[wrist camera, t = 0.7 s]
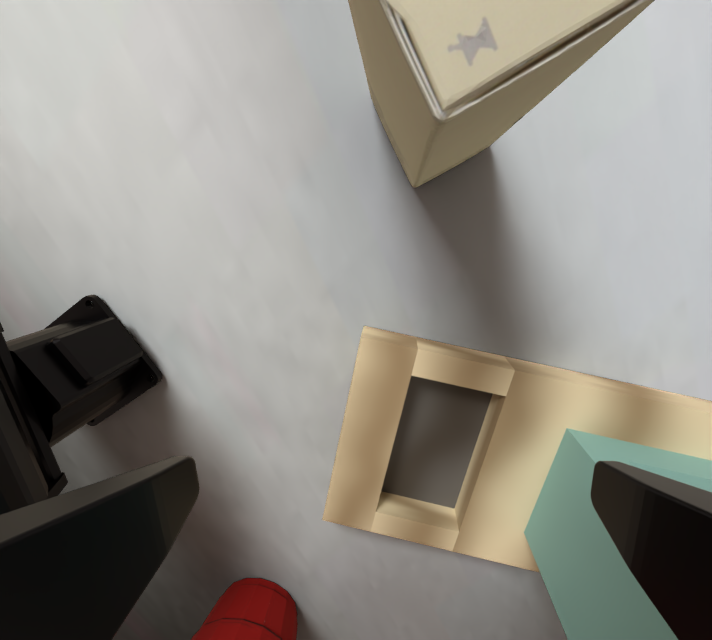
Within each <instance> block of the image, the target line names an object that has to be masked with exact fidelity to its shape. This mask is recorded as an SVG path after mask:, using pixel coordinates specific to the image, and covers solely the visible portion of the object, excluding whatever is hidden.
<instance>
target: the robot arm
mask: <svg viewBox="0 0 712 640" xmlns="http://www.w3.org/2000/svg"><path fill="white" fill-rule="evenodd" d="M91 301H92V302H93V304H94V306H92V304H91ZM3 331H4V330H3V327H2V325H1V323H0V640H112V639H113V637H114V636H115V634H116V633H117V631H118V629H119V628H120V626H121V625H122V623H123V622H124V620H125V619H126V617H127V616H128V614H129V613H130V611H131V610H132V608H133V607H134V605H135V604H136V602H137V600H138V599H139V597H140V596H141V594H142V593H143V591H144V590H145V588H146V587H147V585H148V584H149V582H150V581H151V579H152V578H153V576H154V575H155V573H156V572H157V570H158V568H159V567H160V565H161V564H162V562H163V561H164V559H165V557H166V556H167V554H168V552H169V551H170V549H171V547H172V545H173V543H174V542H175V540H176V538H177V536H178V534H179V532H180V530H181V528H182V526H183V524H184V523H185V521H186V519H187V517H188V515H189V513H190V511H191V509H192V507H193V505H194V503H195V502H196V500H197V497H198V494H199V482H198V477H197V471H196V466H195V461H194V459H193V458H192V457H190V456H175V457H172V458H169V459H166V460H163V461H160V462H157V463H154V464H151V465H148V466H145V467H142V468H139V469H136V470H133V471H130V472H127V473H124V474H121V475H118V476H115V477H112V478H109V479H106V480H103V481H100V482H97V483H94V484H91V485H88V486H85V487H82V488H79V489H76V490H73V491H70V492H67V493H64V494H61V495H59V493H60V492H61V491H62V490H63V488H64V487H65V486H66V485H67V483H68V481H67V478H66V476H65V473H63V472H62V473H61V470H60V468H59V466H58V463H57V461H56V459H55V456H54V454H53V452H52V449H51V447H52V446H53V445H55V444H56V443H58V442H59V441H61V440H62V439H64V438H65V437H67V436H68V435H70V434H71V433H73V432H74V431H76V430H77V429H79V428H80V427H82V426H83V425H85V424H86V423H87V424H88V425H90V426H95V425H97V424H98V423H100V422H101V421H103V420H104V419H106V418H107V417H109V416H110V415H111V414H113V413H114V412H116V411H117V410H119V409H120V408H122V407H123V406H125V405H126V404H128V403H129V402H131V401H132V400H134V399H135V398H137V397H138V396H140V395H141V394H143V393H144V392H145V391H147V390H148V389H150V388H151V387H153V386H154V385H156V384H157V383H159V382H160V381H161V379H162V374H161V373H160V371H159V370H158V369H157V367H156V366H155V365H154V364H153V362H152V361H151V360H150V359H149V358H148V356H147V355H146V354H145V353H144V351H143V350H142V349H141V348H140V346H139V345H138V344H137V343H136V342H135V340H134V339H133V338H132V337H131V335H130V334H129V333H128V332H127V331H126V329H125V328H124V327H123V326H122V324H121V323H120V322H119V321H118V319H117V318H116V317H115V316H114V315H113V313H112V312H111V311H110V310H109V308H108V307H107V306H106V305H105V303H104V302H103V301H102V300H101V299H100V298H99V297H98V296H96V295H89V296H86V297H84V298H82V299H81V300H80V301H79V302H77V303H76V304H75V305H74V306H72V307H71V308H70V309H69V310H67V311H66V312H65V313H64V314H62V315H61V316H60V317H59V318H57V319H56V320H55V321H54V322H52V323H51V324H50V325H49V326H47V327H46V328H45V329H44V330H41V331H38V332H35V333H32V334H28V335H25V336H22V337H19V338H16V339H13V340H10V341H7V342H6V341H5V339H4V337H3V334H2V332H3ZM150 375H152V376H153V377H154V379H153V378H151V376H150ZM591 501H592V504H593V507H594V509H595V511H596V512H597V514H598V516H599V518H600V519H601V521H602V523H603V525H604V526H605V528H606V530H607V532H608V534H609V535H610V537H611V539H612V541H613V542H614V544H615V546H616V548H617V549H618V551H619V553H620V555H621V556H622V558H623V560H624V561H625V563H626V565H627V566H628V568H629V570H630V571H631V573H632V574H633V576H634V577H635V579H636V580H637V582H638V583H639V585H640V586H641V587H642V589H643V590H644V592H645V593H646V595H647V596H648V597H649V599H650V600H651V602H652V603H653V605H654V606H655V607H656V609H657V610H658V612H659V613H660V614H661V616H662V617H663V619H664V620H665V622H666V623H667V624H668V626H669V627H670V629H671V630H672V632H673V633H674V634H675V636H676V637H677V639H678V640H712V492H709V491H706V490H703V489H700V488H697V487H694V486H691V485H688V484H685V483H682V482H679V481H676V480H673V479H670V478H667V477H664V476H661V475H658V474H655V473H652V472H649V471H646V470H643V469H640V468H637V467H634V466H631V465H628V464H625V463H622V462H618V461H598V462H597V463H596V464H595V466H594V472H593V479H592V486H591Z"/></svg>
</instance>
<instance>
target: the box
mask: <svg viewBox="0 0 712 640" xmlns="http://www.w3.org/2000/svg"><path fill="white" fill-rule="evenodd" d="M653 1H654V0H348V2H349V6H350V10H351V15H352V19H353V23H354V27H355V31H356V36H357V40H358V44H359V48H360V52H361V56H362V60H363V64H364V69H365V73H366V77H367V81H368V86H369V90H370V94H371V99H372V101H373V103H374V106H375V108H376V111H377V113H378V115H379V118H380V120H381V122H382V125H383V127H384V129H385V131H386V133H387V136H388V138H389V140H390V142H391V144H392V146H393V148H394V150H395V153H396V155H397V157H398V159H399V161H400V163H401V165H402V167H403V169H404V171H405V173H406V175H407V178H408V179H409V181H410V183H411V185H412V187H414V188H417V187H419V186H420V185H422V184H424V183H426V182H428V181H430V180H432V179H433V178H435V177H437V176H439V175H441V174H443V173H444V172H446V171H448V170H450V169H452V168H453V167H455V166H457V165H459V164H460V163H462V162H464V161H466V160H467V159H469V158H471V157H472V156H474V155H476V154H478V153H479V152H481V151H482V150H484V149H486V148H487V147H489V146H490V145H492V144H493V143H494V142H495V141H496V140H497V139H498V138H499V137H500V136H502V135H503V134H504V133H505V132H506V131H507V130H508V129H510V128H511V127H512V126H513V125H514V124H515V123H516V122H517V121H518V120H520V119H521V118H522V117H523V116H524V115H525V114H526V113H528V112H529V111H530V110H531V109H533V108H534V107H535V106H536V105H537V104H538V103H539V102H540V101H542V100H543V99H544V98H545V97H546V96H547V95H548V94H550V93H551V92H552V91H553V90H554V89H555V88H556V87H557V86H559V85H560V84H561V83H562V82H563V81H564V80H565V79H567V78H568V77H569V76H570V75H571V74H572V73H573V72H575V71H576V70H577V69H578V68H579V67H580V66H582V65H583V64H584V63H585V62H586V61H587V60H588V59H590V58H591V57H592V56H593V55H594V54H595V53H596V52H597V51H598V50H599V49H601V48H602V47H603V46H604V45H605V44H606V43H608V42H609V41H610V40H611V39H612V38H613V37H614V36H615V35H616V34H618V33H619V32H620V31H621V30H622V29H623V28H624V27H625V26H627V25H628V24H629V23H630V22H631V21H632V20H633V19H634V18H635V17H636V16H638V15H639V14H640V13H641V12H642V11H643V10H644V9H645V8H646V7H648V6H649V5H650V4H651V3H652V2H653Z"/></svg>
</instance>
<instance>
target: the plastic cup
mask: <svg viewBox="0 0 712 640" xmlns="http://www.w3.org/2000/svg"><path fill="white" fill-rule="evenodd" d="M297 625H298V623H297V611H296V605H295V602H294V600H293V599H292V598H291V596H290V595H289V593H288V592H287V591H286V590H284V589H283V588H282V587H280V586H279V585H277V584H276V583H274V582H271V581H268V580H265V579H262V578H245V579H242V580H239V581H237V582H234V583H233V584H232V585H231V586H230V587H229V588H228V589H227V590H226V591H225V593H224V594H223V595H222V596H221V597H220V598H219V600H218V601H217V603H216V604H215V606H214V607H213V609H212V611H211V612H210V614H209V615H208V617H207V618H206V620H205V622H204V623H203V625H202V626H201V628H200V629H199V631H197V632H196V633H195V634H194V636H193V637H192V639H191V640H296V635H297Z"/></svg>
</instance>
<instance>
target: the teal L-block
mask: <svg viewBox="0 0 712 640" xmlns="http://www.w3.org/2000/svg"><path fill="white" fill-rule="evenodd" d="M598 461H618V462H622V463H625V464H628V465H631V466H634V467H637V468H640V469H643V470H646V471H649V472H652V473H655V474H658V475H661V476H664V477H667V478H670V479H673V480H676V481H679V482H682V483H685V484H688V485H691V486H694V487H697V488H700V489H703V490H706V491H709V492H712V461H711V460H707V459H702V458H698V457H693V456H689V455H685V454H680V453H676V452H671V451H667V450H662V449H658V448H653V447H649V446H644V445H640V444H635V443H631V442H627V441H622V440H618V439H613V438H609V437H604V436H600V435H595V434H591V433H586V432H582V431H577V430H573V429H568V428H566V431H565V433H564V436H563V438H562V441H561V443H560V445H559V448H558V450H557V453H556V455H555V458H554V460H553V463H552V465H551V467H550V470H549V472H548V475H547V477H546V480H545V482H544V484H543V487H542V489H541V492H540V494H539V497H538V499H537V502H536V504H535V506H534V509H533V511H532V514H531V516H530V519H529V521H528V524H527V526H526V528H525V531H524V534H525V537H526V539H527V542H528V544H529V546H530V549H531V551H532V554H533V556H534V559H535V561H536V563H537V566H538V568H539V571H540V573H541V576H542V578H543V580H544V583H545V585H546V588H547V590H548V593H549V595H550V597H551V600H552V602H553V605H554V607H555V610H556V612H557V615H558V617H559V619H560V622H561V624H562V627H563V629H564V632H565V634H566V636H567V639H568V640H678V639H677V637H676V636H675V634H674V633H673V632H672V630H671V629H670V627H669V626H668V624H667V623H666V622H665V620H664V619H663V617H662V616H661V614H660V613H659V612H658V610H657V609H656V607H655V606H654V605H653V603H652V602H651V600H650V599H649V597H648V596H647V595H646V593H645V592H644V590H643V589H642V587H641V586H640V585H639V583H638V582H637V580H636V579H635V577H634V576H633V574H632V573H631V571H630V570H629V568H628V566H627V565H626V563H625V561H624V560H623V558H622V556H621V555H620V553H619V551H618V549H617V548H616V546H615V544H614V542H613V541H612V539H611V537H610V535H609V534H608V532H607V530H606V528H605V526H604V525H603V523H602V521H601V519H600V518H599V516H598V514H597V512H596V511H595V509H594V507H593V504H592V501H591V486H592V479H593V472H594V466H595V464H596V463H597V462H598Z"/></svg>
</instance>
